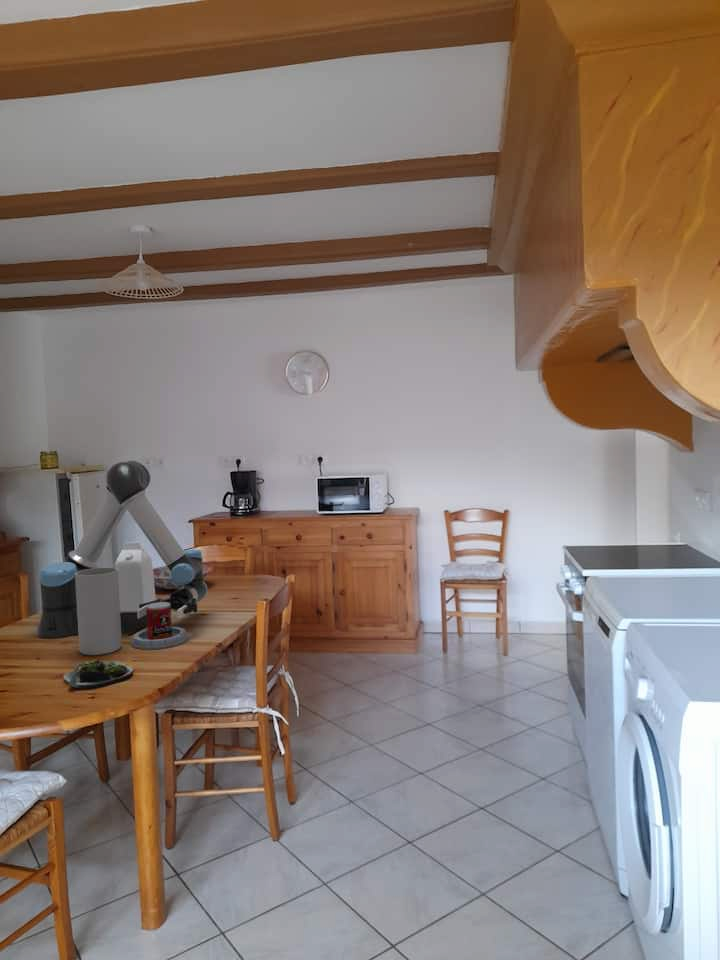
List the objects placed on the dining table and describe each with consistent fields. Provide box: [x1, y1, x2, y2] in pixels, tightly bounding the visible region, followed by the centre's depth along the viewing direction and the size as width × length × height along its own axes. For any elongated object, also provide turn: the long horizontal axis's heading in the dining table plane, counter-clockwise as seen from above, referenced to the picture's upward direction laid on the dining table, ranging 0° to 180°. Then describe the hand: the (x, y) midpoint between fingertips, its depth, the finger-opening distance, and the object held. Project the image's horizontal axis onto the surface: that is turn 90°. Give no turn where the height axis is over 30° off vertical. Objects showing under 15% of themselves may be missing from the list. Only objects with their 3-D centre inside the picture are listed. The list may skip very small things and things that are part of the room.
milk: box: [114, 541, 157, 612], centre depth 263 cm, size 12×12×26 cm
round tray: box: [130, 626, 189, 651], centre depth 218 cm, size 18×18×2 cm
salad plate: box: [63, 659, 134, 690], centre depth 186 cm, size 19×18×5 cm
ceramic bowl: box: [153, 564, 212, 590], centre depth 298 cm, size 29×29×8 cm
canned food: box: [145, 602, 173, 640], centre depth 217 cm, size 8×8×11 cm
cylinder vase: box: [75, 567, 123, 656], centre depth 210 cm, size 12×12×25 cm
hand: (158, 614), depth 216 cm, fingers open, 13 cm apart
